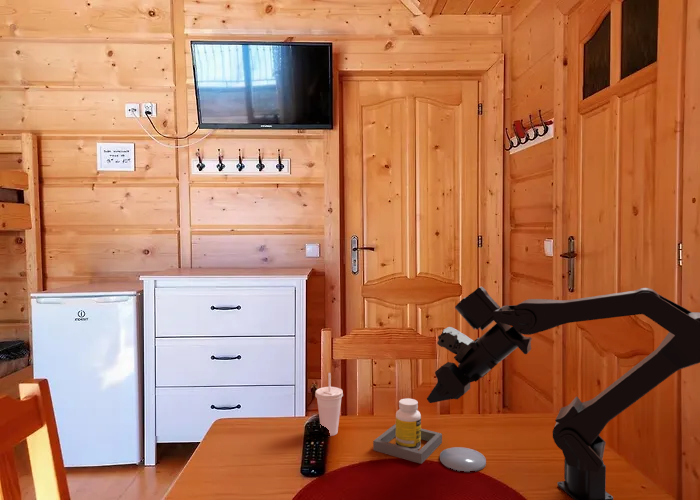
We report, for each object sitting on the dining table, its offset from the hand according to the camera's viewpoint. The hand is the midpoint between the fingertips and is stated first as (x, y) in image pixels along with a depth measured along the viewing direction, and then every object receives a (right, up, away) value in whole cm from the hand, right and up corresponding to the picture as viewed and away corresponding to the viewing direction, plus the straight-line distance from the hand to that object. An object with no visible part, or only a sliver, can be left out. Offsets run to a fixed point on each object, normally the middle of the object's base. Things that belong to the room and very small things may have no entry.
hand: (437, 394), depth 95 cm
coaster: (+5, -13, -2) cm, 14 cm away
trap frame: (-6, -13, +4) cm, 14 cm away
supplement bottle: (-6, -13, +4) cm, 14 cm away
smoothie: (-23, -13, +11) cm, 28 cm away
